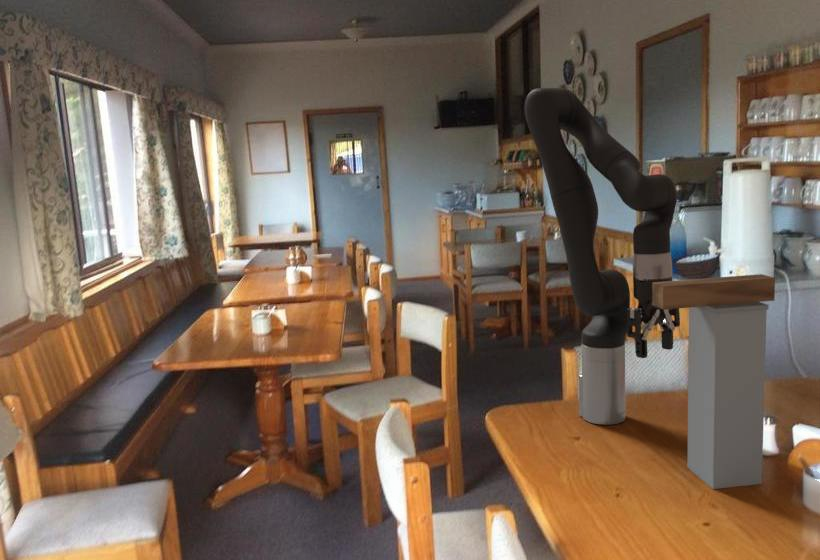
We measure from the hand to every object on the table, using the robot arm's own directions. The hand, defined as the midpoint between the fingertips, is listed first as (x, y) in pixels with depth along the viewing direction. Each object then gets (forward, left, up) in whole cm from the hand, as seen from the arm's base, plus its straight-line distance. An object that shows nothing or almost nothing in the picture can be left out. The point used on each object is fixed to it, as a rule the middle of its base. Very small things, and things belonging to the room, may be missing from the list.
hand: (654, 353), depth 147 cm
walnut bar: (+18, -10, +14) cm, 25 cm away
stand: (+20, -8, -18) cm, 27 cm away
